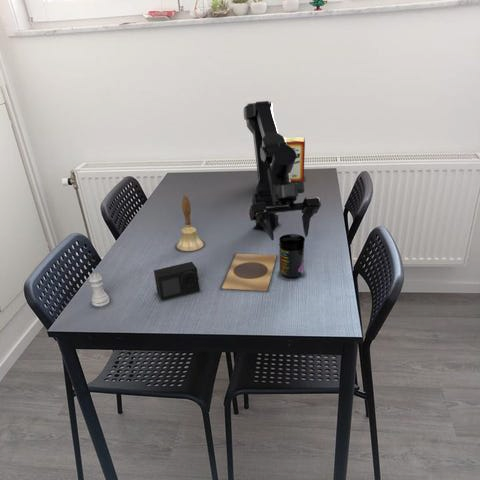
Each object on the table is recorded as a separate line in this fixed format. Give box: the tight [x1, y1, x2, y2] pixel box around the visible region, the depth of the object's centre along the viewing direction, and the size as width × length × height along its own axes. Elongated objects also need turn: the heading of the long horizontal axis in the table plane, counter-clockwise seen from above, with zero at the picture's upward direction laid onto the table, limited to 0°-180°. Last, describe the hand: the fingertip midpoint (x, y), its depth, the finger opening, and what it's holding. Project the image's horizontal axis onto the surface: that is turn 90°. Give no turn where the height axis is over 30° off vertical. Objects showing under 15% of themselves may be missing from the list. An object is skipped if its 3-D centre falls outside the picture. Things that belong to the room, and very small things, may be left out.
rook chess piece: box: [88, 272, 111, 308], centre depth 121 cm, size 4×4×8 cm
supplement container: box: [278, 233, 306, 280], centre depth 129 cm, size 7×7×10 cm
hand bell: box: [176, 195, 204, 252], centre depth 145 cm, size 8×8×16 cm
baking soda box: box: [284, 137, 306, 182], centre depth 195 cm, size 10×6×16 cm
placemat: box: [221, 253, 277, 292], centre depth 134 cm, size 20×12×1 cm, turn 170°
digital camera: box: [153, 261, 200, 301], centre depth 124 cm, size 10×5×7 cm, turn 114°
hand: (289, 238), depth 128 cm, fingers open, 9 cm apart
